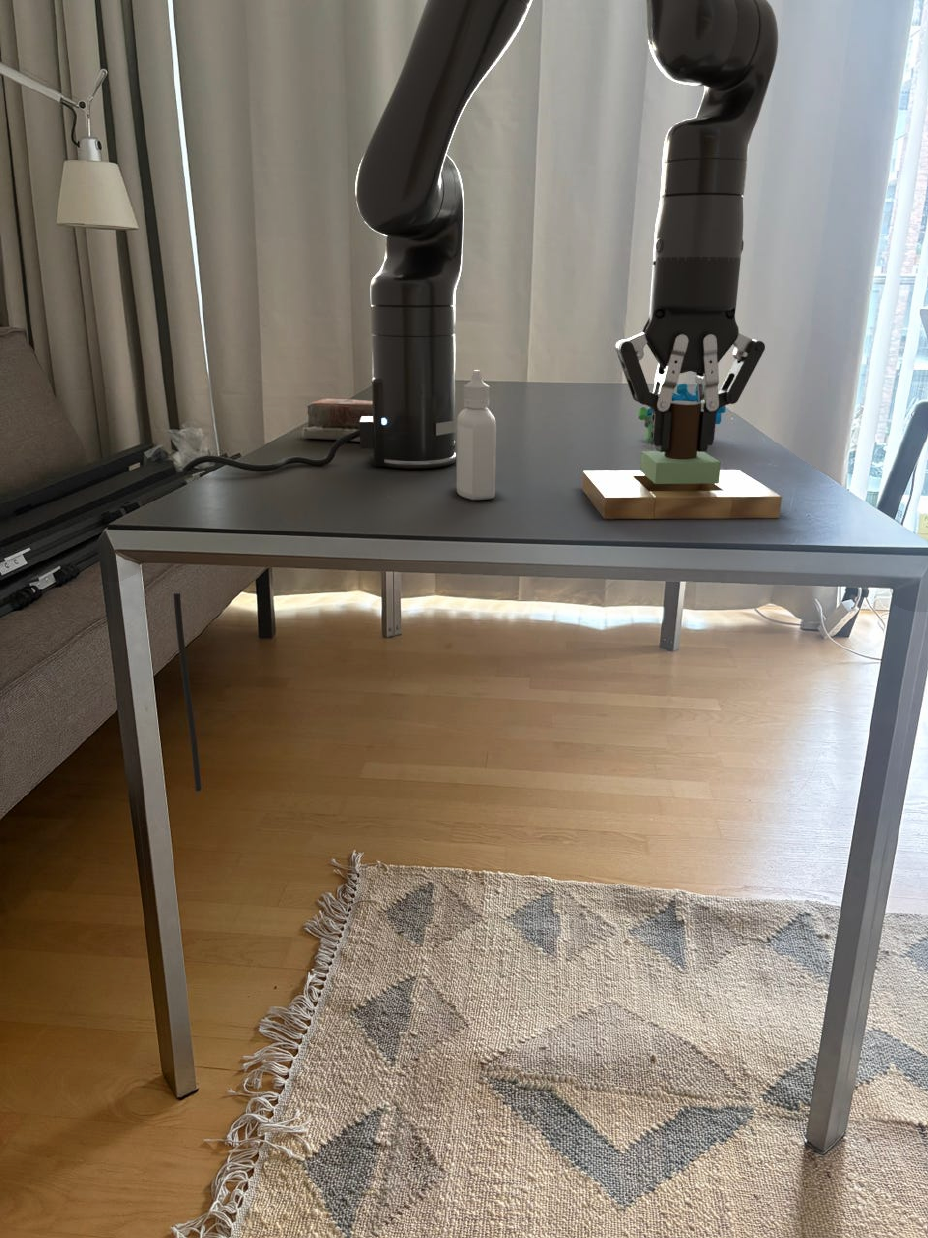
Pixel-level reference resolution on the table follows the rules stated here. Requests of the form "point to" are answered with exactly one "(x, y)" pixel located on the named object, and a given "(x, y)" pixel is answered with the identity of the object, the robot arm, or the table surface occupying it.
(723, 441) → the table surface
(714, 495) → the wooden board
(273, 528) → the table surface
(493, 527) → the table surface
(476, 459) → the eye dropper bottle
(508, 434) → the table surface
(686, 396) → the gear
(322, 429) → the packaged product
